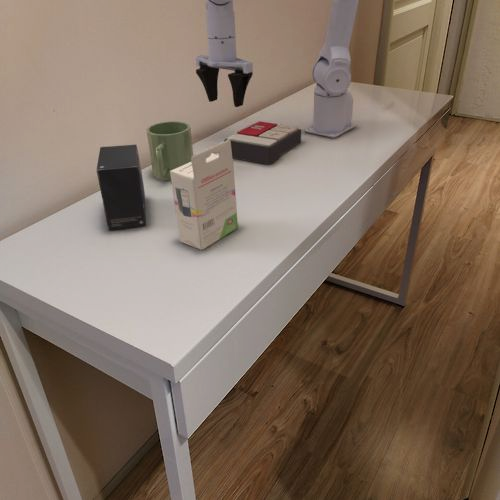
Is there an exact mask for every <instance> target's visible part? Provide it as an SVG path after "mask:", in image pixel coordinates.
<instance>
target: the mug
mask: <svg viewBox="0 0 500 500" xmlns="http://www.w3.org/2000/svg"><path fill="white" fill-rule="evenodd" d="M146 135H147V143H148V149H149V155H150V162H151V171H152V175H153V176H154V178H156V179H157V180H160V181H171V175H170V171H171V170H173V169H176V168H178V167H180V166H183V165H185V164H187V163H189V162H191V158H192V156H193V155H194V148H193V138H192V128H191V125H190V124H189V123H187V122H185V121H177V120H171V121H161V122H157V123H154V124H151V125H149V126H148V127H147V128H146Z"/></svg>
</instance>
